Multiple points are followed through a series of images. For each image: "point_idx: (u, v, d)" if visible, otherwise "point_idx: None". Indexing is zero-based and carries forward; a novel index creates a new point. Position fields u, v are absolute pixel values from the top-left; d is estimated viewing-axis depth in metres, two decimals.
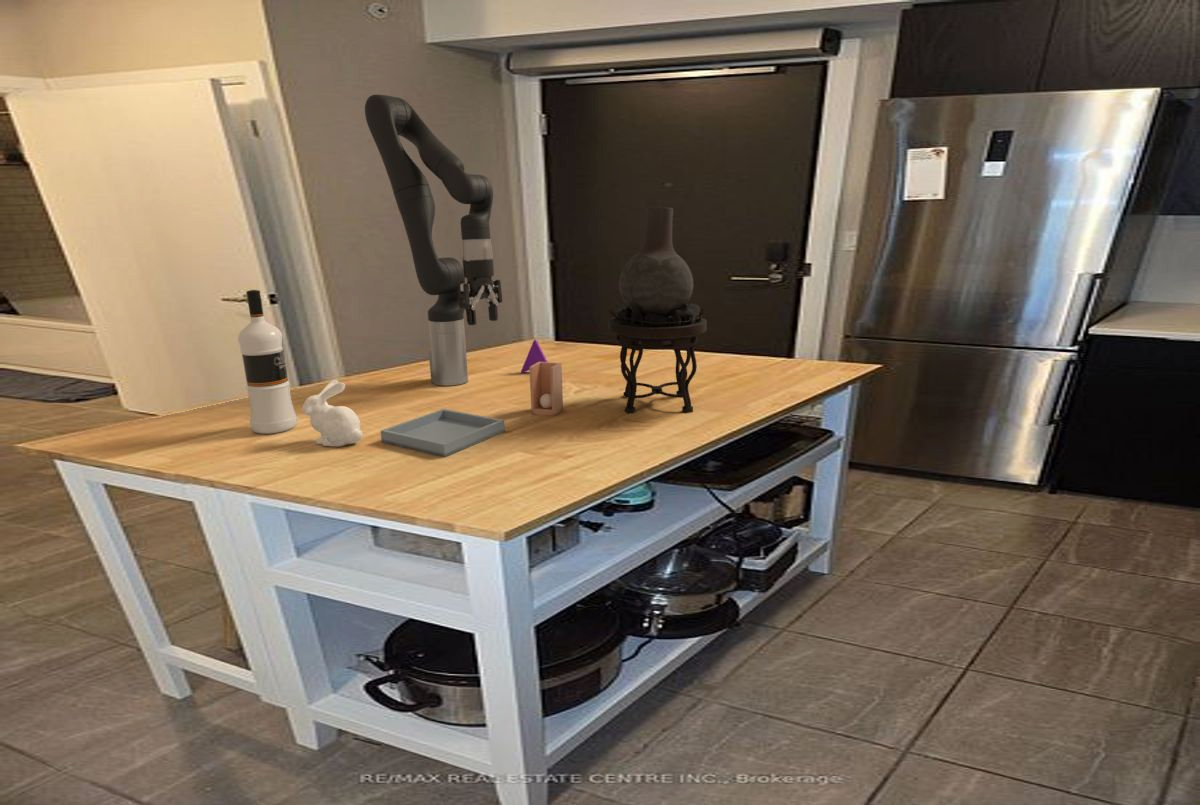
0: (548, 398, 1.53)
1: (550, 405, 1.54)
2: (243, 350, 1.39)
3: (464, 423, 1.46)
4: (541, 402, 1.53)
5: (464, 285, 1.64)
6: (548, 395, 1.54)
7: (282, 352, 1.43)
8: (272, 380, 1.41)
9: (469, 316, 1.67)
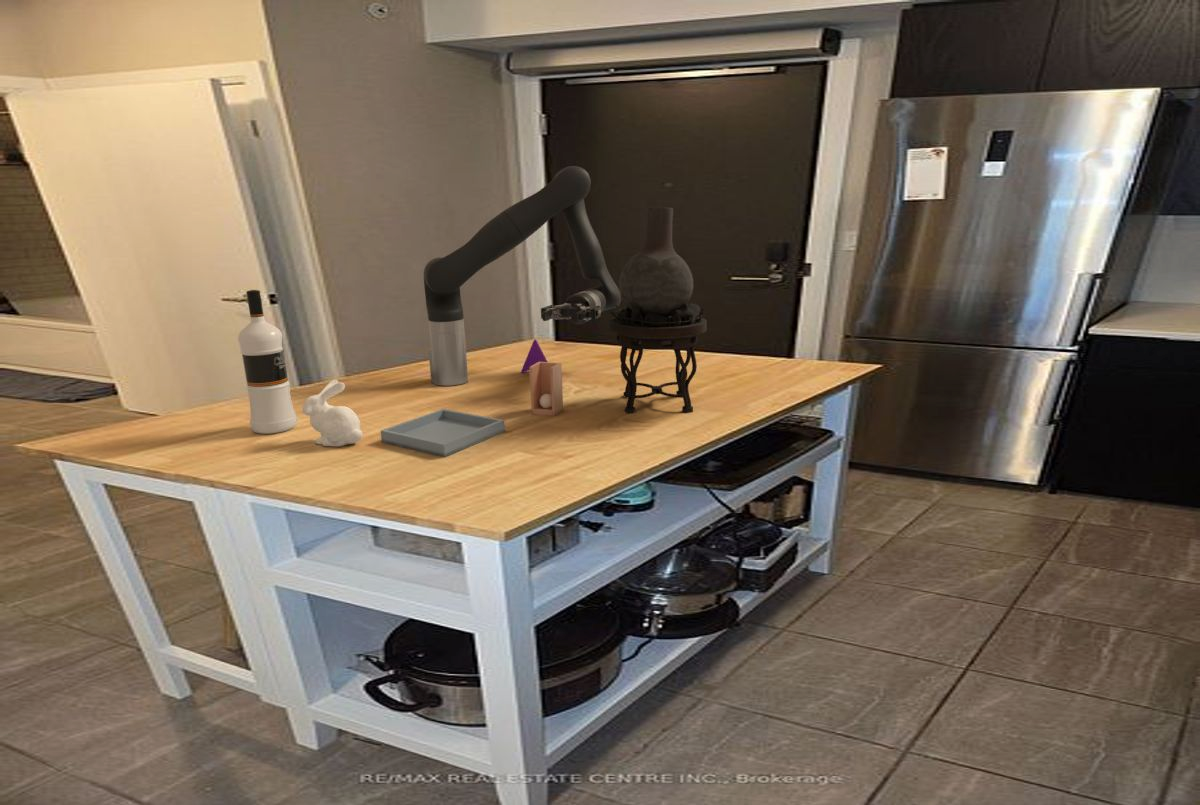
0: (547, 398, 1.53)
1: (550, 405, 1.53)
2: (243, 350, 1.39)
3: (464, 423, 1.46)
4: (541, 403, 1.53)
5: (600, 314, 1.67)
6: (548, 395, 1.53)
7: (282, 352, 1.43)
8: (272, 380, 1.41)
9: (584, 316, 1.60)
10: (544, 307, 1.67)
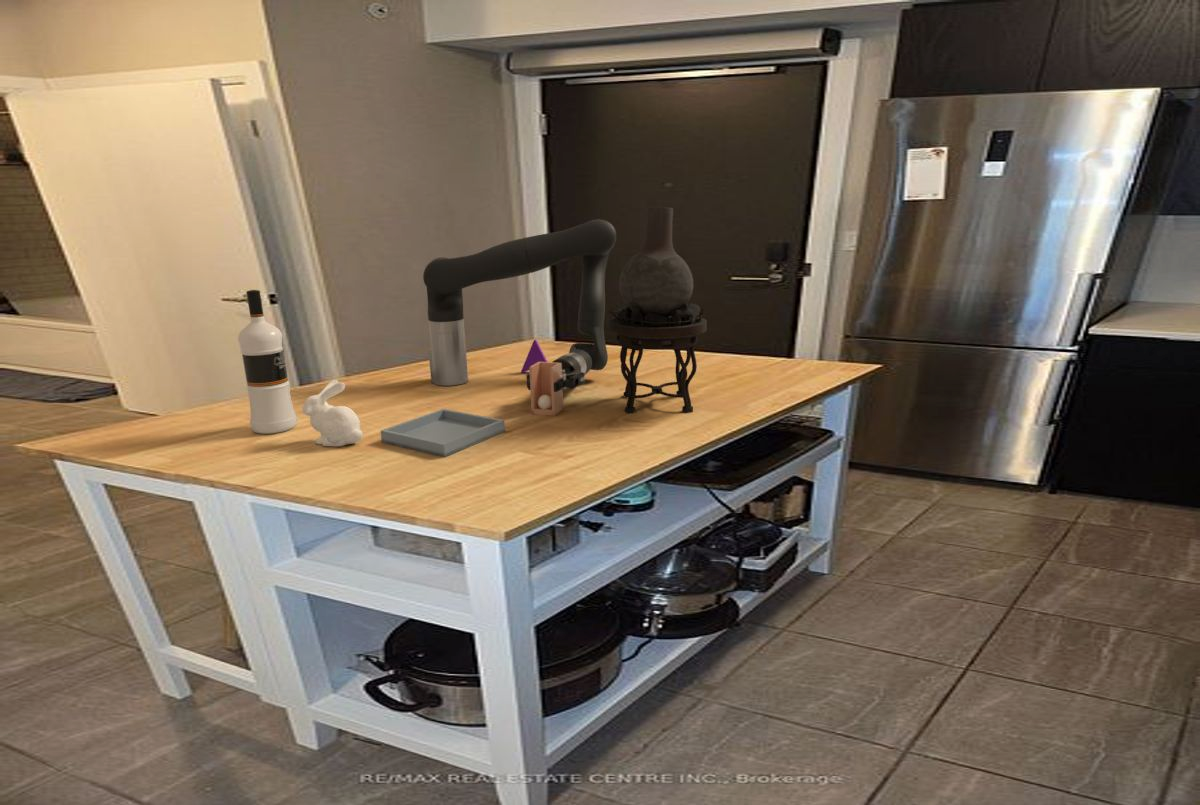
0: (545, 403, 1.52)
1: (549, 407, 1.53)
2: (243, 350, 1.39)
3: (464, 423, 1.46)
4: (540, 407, 1.53)
5: (584, 381, 1.58)
6: (545, 399, 1.52)
7: (282, 352, 1.43)
8: (272, 380, 1.41)
9: (562, 386, 1.52)
10: (528, 373, 1.58)
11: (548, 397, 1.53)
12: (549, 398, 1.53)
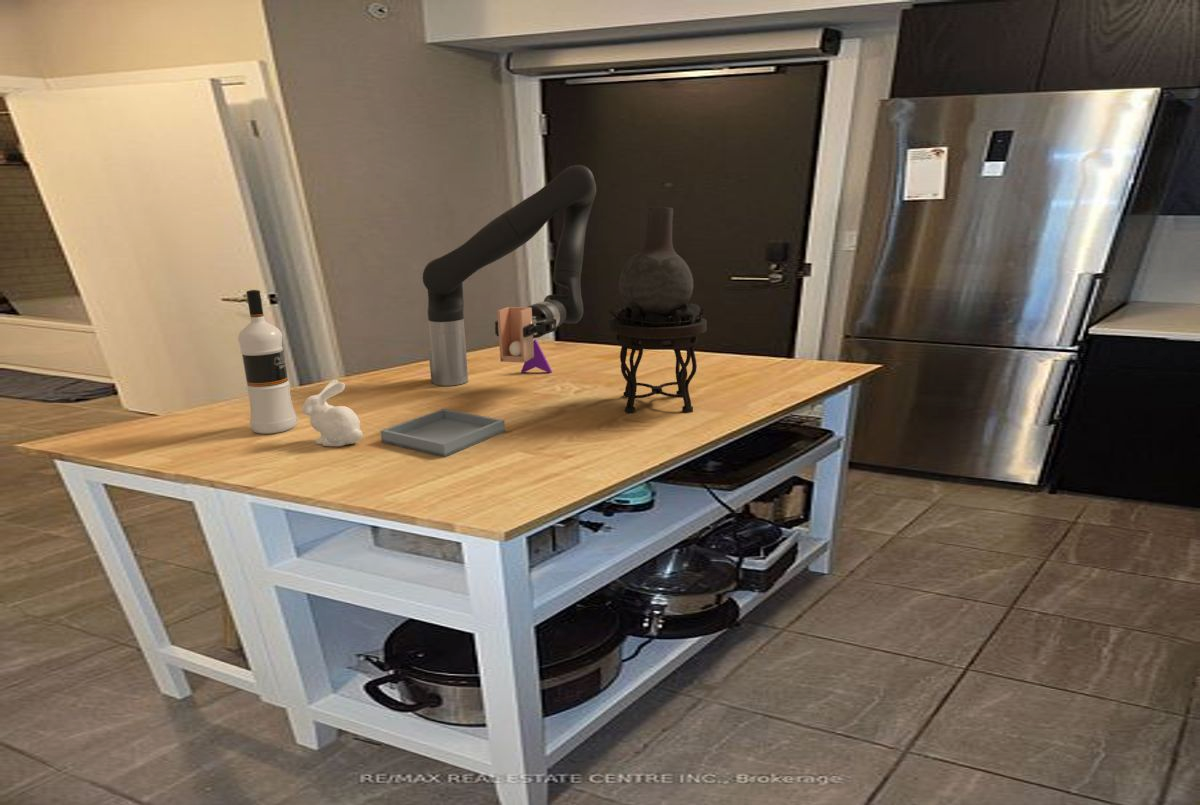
0: (517, 350, 1.44)
1: (520, 355, 1.46)
2: (243, 350, 1.39)
3: (464, 423, 1.46)
4: (510, 352, 1.45)
5: (556, 328, 1.51)
6: (518, 346, 1.44)
7: (282, 352, 1.43)
8: (272, 380, 1.41)
9: (532, 331, 1.44)
10: (497, 320, 1.51)
11: None
12: None
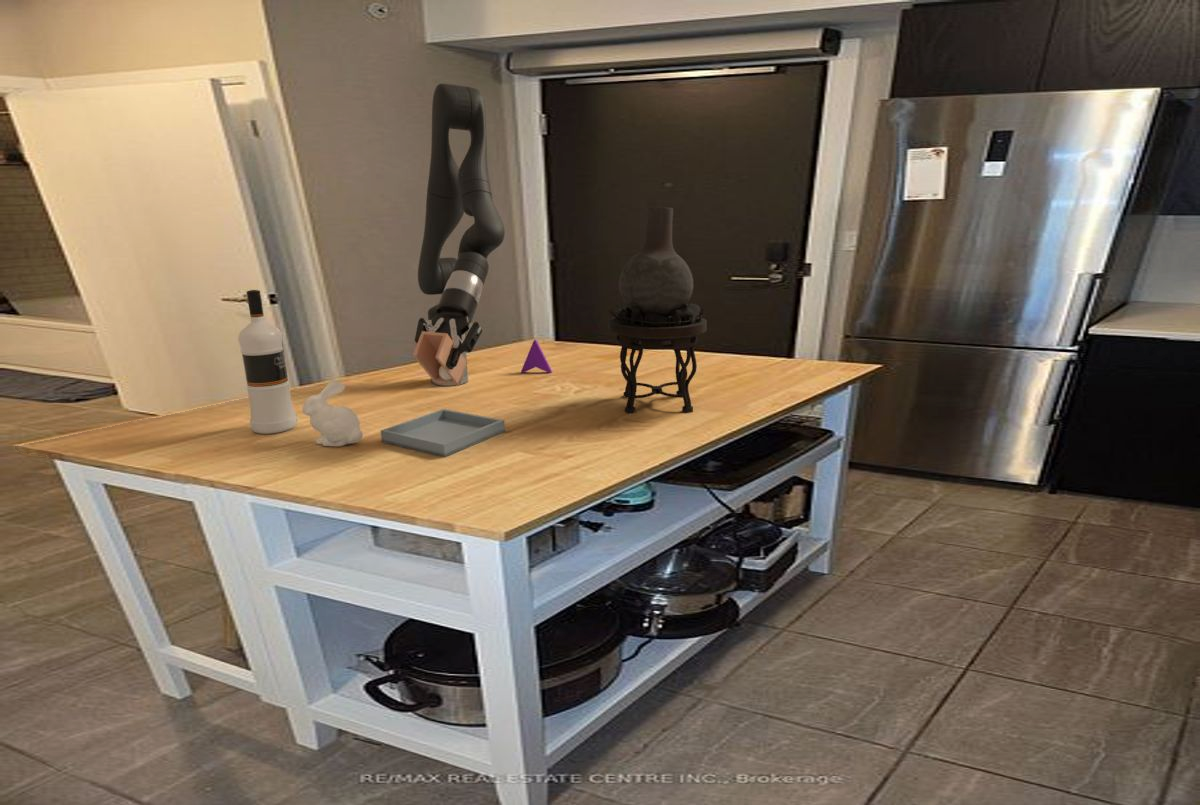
0: (447, 378, 1.37)
1: None
2: (243, 350, 1.39)
3: (464, 423, 1.46)
4: None
5: (481, 329, 1.37)
6: (446, 375, 1.37)
7: (282, 352, 1.43)
8: (272, 380, 1.41)
9: (457, 358, 1.34)
10: (417, 333, 1.38)
11: None
12: None
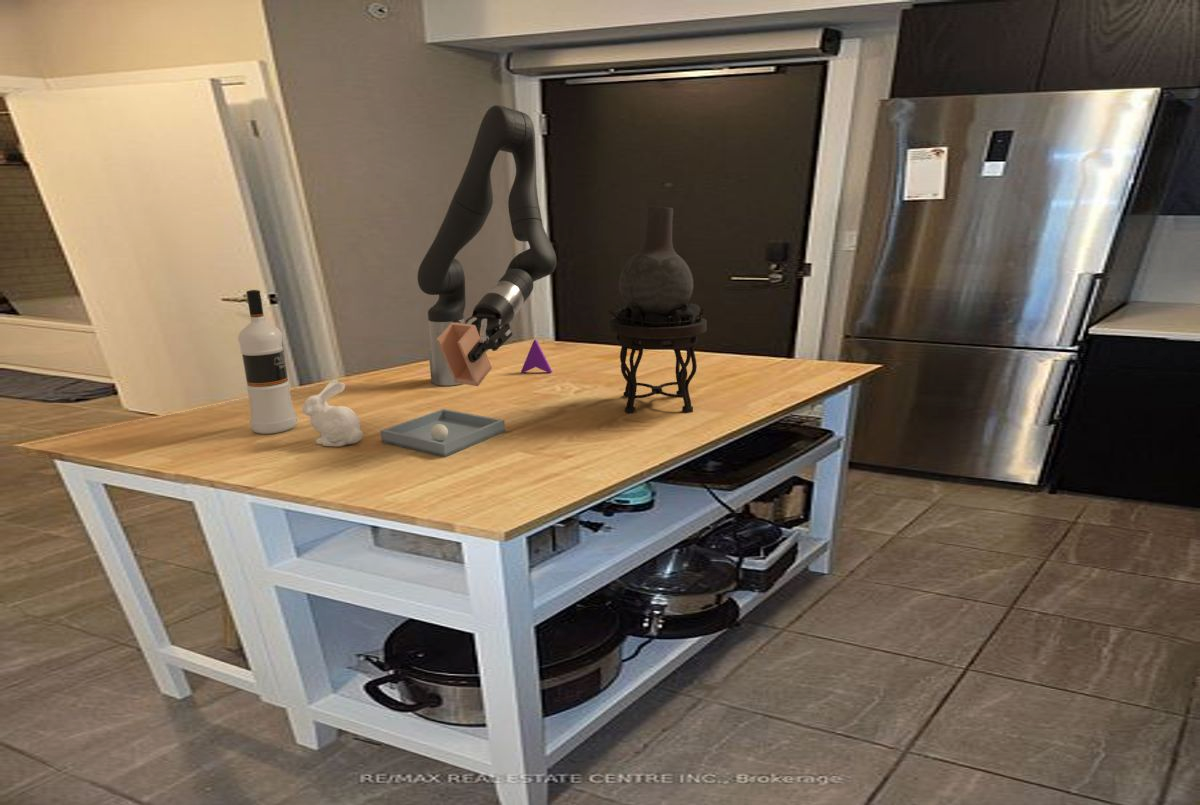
0: (437, 431, 1.33)
1: (434, 438, 1.34)
2: (243, 350, 1.39)
3: (464, 423, 1.46)
4: (432, 428, 1.34)
5: None
6: (441, 430, 1.33)
7: (282, 352, 1.43)
8: (272, 380, 1.41)
9: (481, 353, 1.31)
10: None
11: (445, 433, 1.34)
12: (444, 434, 1.33)
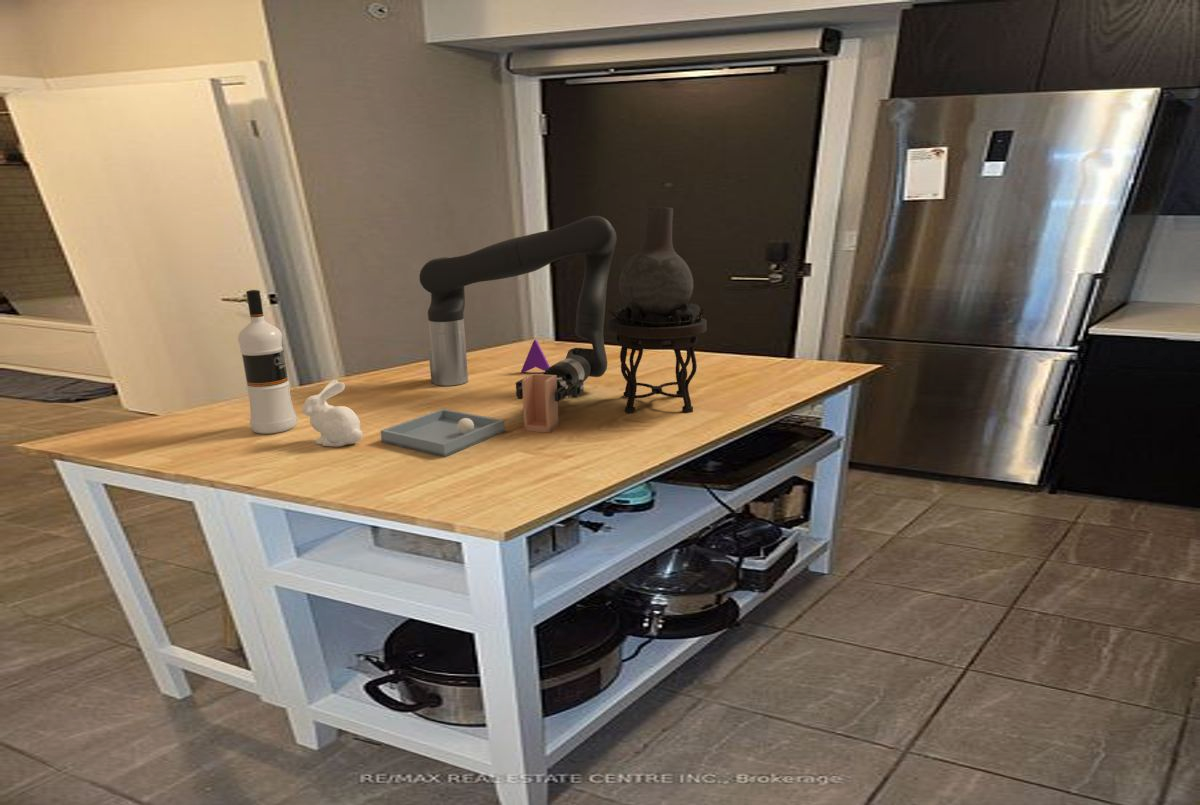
0: (471, 431, 1.38)
1: (473, 423, 1.39)
2: (243, 350, 1.39)
3: None
4: None
5: (583, 389, 1.48)
6: (468, 432, 1.37)
7: (282, 352, 1.43)
8: (272, 380, 1.41)
9: (564, 395, 1.41)
10: (520, 380, 1.48)
11: (467, 428, 1.37)
12: (468, 427, 1.37)
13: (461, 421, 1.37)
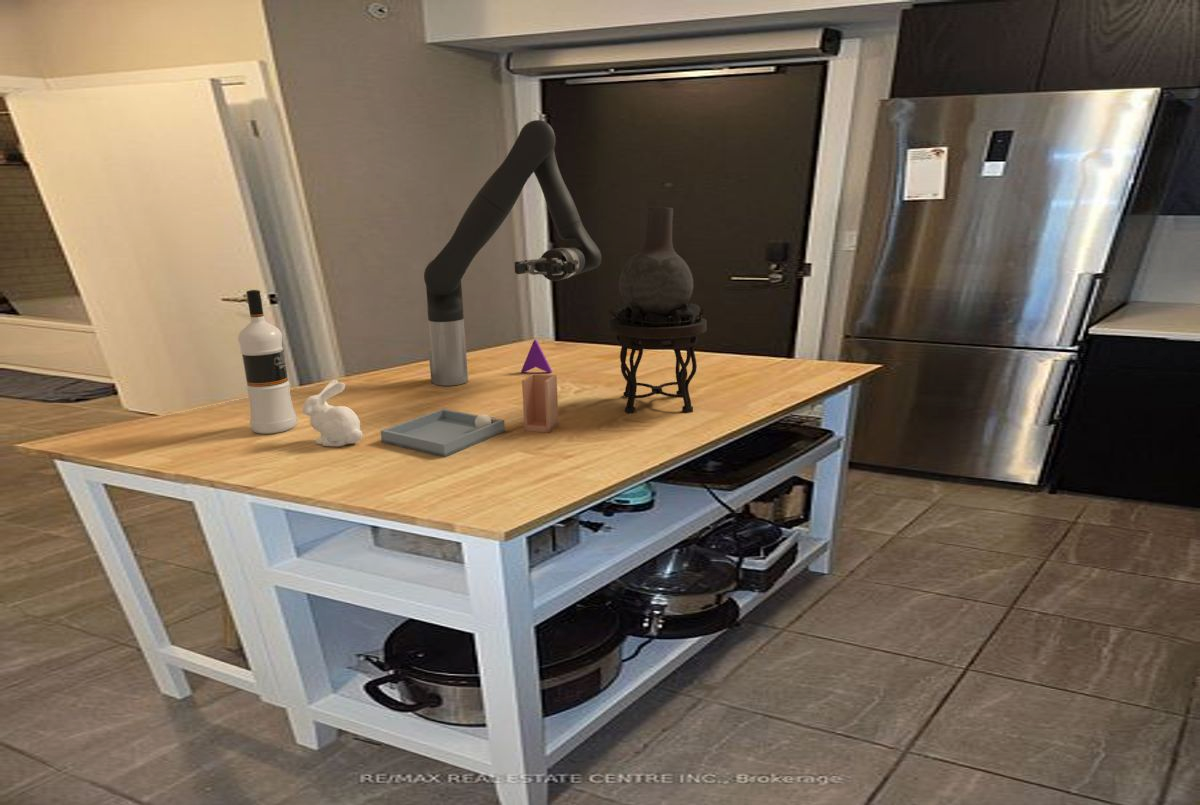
0: (480, 424, 1.39)
1: None
2: (243, 350, 1.39)
3: (464, 423, 1.46)
4: (475, 421, 1.40)
5: (578, 269, 1.58)
6: (484, 421, 1.39)
7: (282, 352, 1.43)
8: (272, 380, 1.41)
9: (560, 269, 1.51)
10: None
11: (488, 422, 1.39)
12: (488, 424, 1.39)
13: None
